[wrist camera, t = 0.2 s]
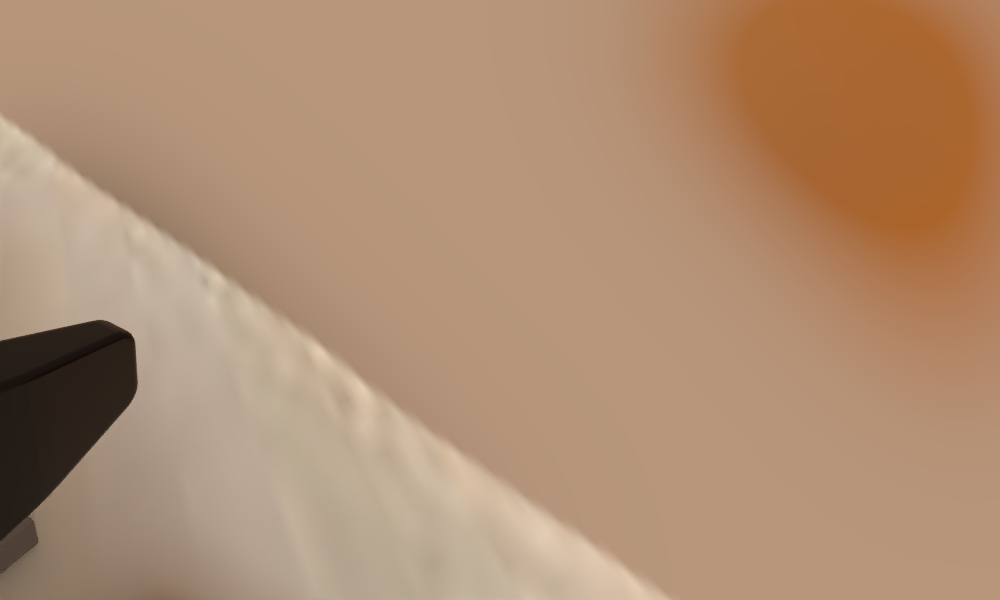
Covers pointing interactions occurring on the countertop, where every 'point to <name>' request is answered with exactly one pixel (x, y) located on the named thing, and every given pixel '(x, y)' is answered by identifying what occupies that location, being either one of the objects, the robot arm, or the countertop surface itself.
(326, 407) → the countertop surface
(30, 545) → the pin collar
